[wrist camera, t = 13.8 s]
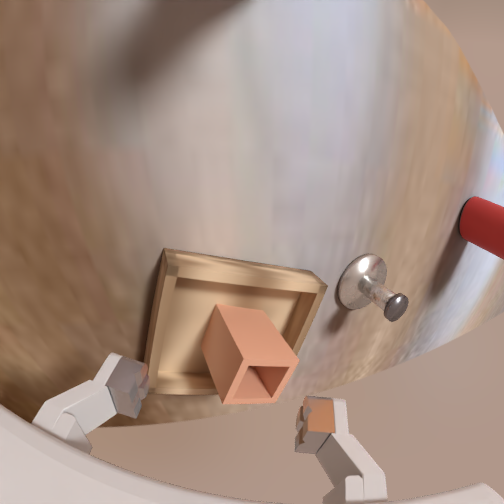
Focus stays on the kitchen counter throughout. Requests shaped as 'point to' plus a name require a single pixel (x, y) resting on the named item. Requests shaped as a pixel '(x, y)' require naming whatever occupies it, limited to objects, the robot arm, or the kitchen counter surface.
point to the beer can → (483, 225)
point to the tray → (203, 303)
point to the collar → (246, 356)
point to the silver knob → (370, 287)
